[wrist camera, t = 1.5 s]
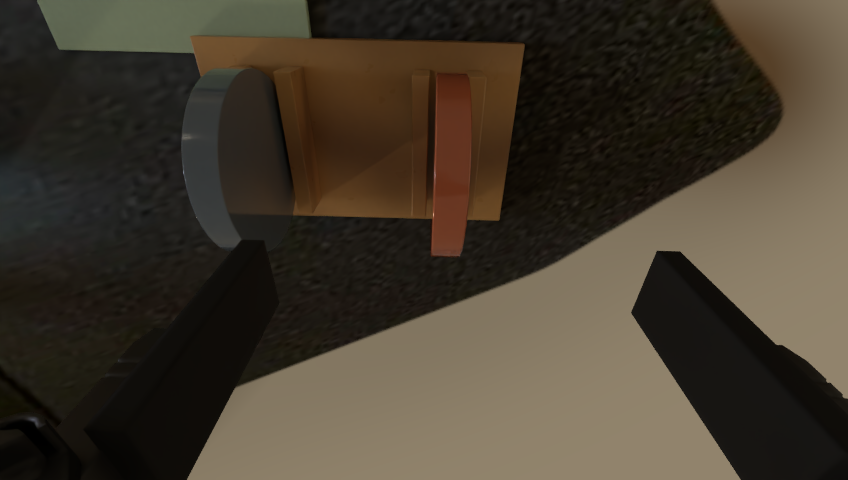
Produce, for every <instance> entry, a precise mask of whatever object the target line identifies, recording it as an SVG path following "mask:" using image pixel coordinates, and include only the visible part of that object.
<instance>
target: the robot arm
mask: <svg viewBox="0 0 848 480" xmlns="http://www.w3.org/2000/svg"><path fill="white" fill-rule="evenodd" d="M278 305H279V299H278V295H277V291H276V287H275V282H274V278H273V274H272V270H271V266H270V262H269V258H268V254H267V249H266V245H265V241H264V240H241V241H240V242H239V243H238V244H237V246H236V247H235V248H234V249H233V250H232V252H231V253H230V254H229V255H228V256H227V258H226V259H225V260H224V261H223V262H222V264H221V265H220V266H219V267H218V268H217V269H216V271H215V272H214V273H213V274H212V275H211V277H210V278H209V279H208V280H207V281H206V283H205V284H204V285H203V286H202V287H201V289H200V290H199V291H198V292H197V293H196V295H195V296H194V297H193V298H192V299H191V301H190V302H189V303H188V304H187V305H186V307H185V308H184V309H183V310H182V311H181V313H180V314H179V315H178V316H177V317H176V319H175V320H174V321H173V322H172V323H171V325H170V326H169V327H168V328H167V329H164V328H154V329H153V330H151V331H150V332H148V333H147V334H145V335H144V336H142V337H141V338H140V339H138V340H137V341H135V342H134V343H133V344H132V345H131V346H130V347H129V348H128V349H127V350H126V352H125V353H124V354H123V355H122V356H121V357H120V358H119V359H118V363H115V364H114V365H113V366H112V367H111V368H110V369H109V370H108V372H107V373H106V375H105V377H104V378H101V379H100V380H99V382H98V383H97V384H96V385H95V386H94V387H93V388H92V389H91V390H90V391H89V393H88V394H87V395H86V396H85V397H84V398H83V399H82V400H81V401H80V403H79V404H78V405H77V406H76V407H75V408H74V409H73V410H72V411H71V413H70V414H69V415H68V416H67V417H66V418H65V419H64V420H63V421H62V423H61V424H60V425H59V426H58V427H57V428H56V429H54V428H53V427H52V426H51V425H50V424H49V422H48V421H47V420H46V419H45V418H44V417H43V416H41V415H39V414H36V413H34V412H29V413H17V414H14V415H11V416H8V417H5V418H2V419H0V480H187V478H188V476H189V474H190V472H191V470H192V469H193V467H194V465H195V463H196V461H197V459H198V457H199V455H200V453H201V451H202V449H203V448H204V446H205V444H206V442H207V440H208V438H209V436H210V434H211V432H212V430H213V429H214V427H215V425H216V423H217V421H218V419H219V417H220V415H221V413H222V411H223V409H224V408H225V405H226V403H227V402H228V400H229V398H230V396H231V394H232V392H233V390H234V388H235V387H236V385H237V383H238V381H239V379H240V377H241V375H242V373H243V371H244V369H245V368H246V366H247V364H248V362H249V360H250V358H251V356H252V354H253V352H254V350H255V348H256V347H257V345H258V343H259V341H260V339H261V337H262V335H263V333H264V331H265V329H266V327H267V326H268V324H269V322H270V320H271V318H272V316H273V314H274V312H275V310H276V308H277V307H278ZM631 313H632V315H633V316H634V318H635V319H636V321H637V323H638V324H639V326H640V327H641V329H642V330H643V331H644V333H645V335H646V336H647V338H648V339H649V341H650V342H651V344H652V345H653V347H654V348H655V350H656V351H657V353H658V354H659V356H660V357H661V359H662V360H663V362H664V363H665V365H666V367H667V368H668V369H669V371H670V372H671V374H672V376H673V377H674V379H675V380H676V382H677V383H678V385H679V386H680V388H681V389H682V391H683V392H684V394H685V395H686V397H687V398H688V400H689V401H690V403H691V405H692V406H693V408H694V409H695V411H696V412H697V414H698V415H699V417H700V418H701V420H702V421H703V423H704V424H705V426H706V427H707V429H708V430H709V432H710V433H711V435H712V436H713V438H714V439H715V441H716V442H717V444H718V446H719V447H720V449H721V450H722V452H723V453H724V455H725V456H726V458H727V459H728V461H729V462H730V464H731V465H732V467H733V468H734V470H735V471H736V473H737V474H738V476H739V477H740V479H741V480H848V399H845V398H843V397H842V393H841V392H839V391H838V390H837V389H836V388H835V387H834V386H833V385H832V384H831V383H827V382H826V379H825V378H824V377H823V376H822V375H821V374H820V373H819V372H818V371H817V370H816V369H815V368H814V367H813V366H812V365H811V364H809V363H808V362H807V361H806V360H804V359H803V358H801V357H800V356H798V355H797V354H795V353H793V352H792V351H791V350H789V349H787V348H786V347H784V346H783V345H776V344H775V343H774V342H773V341H772V340H771V339H770V338H769V337H768V336H766V335H765V334H764V333H763V332H762V331H761V330H760V329H759V328H758V327H757V326H756V325H755V324H754V323H753V322H752V321H751V320H750V319H749V318H748V317H747V316H746V315H745V314H744V313H743V312H742V311H741V310H740V309H739V308H738V307H737V306H736V305H735V304H734V303H733V302H731V301H730V300H729V299H728V298H727V297H726V296H725V295H724V294H723V293H722V292H721V291H720V290H719V289H718V288H717V287H716V286H715V285H714V284H713V283H712V282H711V281H710V280H709V279H708V278H707V277H706V276H705V275H704V274H703V273H702V272H701V271H700V270H698V269H697V268H696V267H695V266H694V265H693V264H692V263H691V262H690V261H689V260H688V259H687V258H686V257H685V256H684V255H683V254H682V253H681V252H675V251H657V252H656V255H655V257H654V259H653V262H652V264H651V266H650V269H649V271H648V274H647V276H646V278H645V281H644V283H643V286H642V288H641V291H640V293H639V295H638V298H637V300H636V302H635V305H634V307H633V309H632V312H631Z"/></svg>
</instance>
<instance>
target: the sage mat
mask: <svg viewBox="0 0 848 480" xmlns="http://www.w3.org/2000/svg"><path fill="white" fill-rule="evenodd" d="M37 2H38V4H39V6H40V8H41V10H42V13H43V15H44V17H45V19H46V22H47V24H48V26H49V28H50V30H51V33H52V35H53V37H54V39H55V42H56V44H57V46H58V48H59V49H60V50H93V51H134V52H175V53H194V50H193V46H192V43H191V39H190V36H194V35H214V36H256V37H298V38H311V37H312V36H311V27H310V19H309V11H308V3H307V0H37Z"/></svg>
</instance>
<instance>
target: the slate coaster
mask: <svg viewBox="0 0 848 480" xmlns="http://www.w3.org/2000/svg"><path fill="white" fill-rule="evenodd" d="M181 148H182V164H183V172H184V179H185V183H186V188H187V192H188V195H189V199H190V202H191V205H192V207H193V210H194V212H195V215H196V217H197V219H198V221H199V223H200V225H201V226H202V228H203V229H204V231H205V232H206V234H207V235H208V236H209V237H210V238H211V240H212V241H213V242H214V243H216V244H217V245H218V246H219V247H221V248H223V249H225V250H227V251H231V252H232V250H233V249H234V248H235V247H236V246H237V244H238V243H239V242H240V241H241V240H264V241H265V245H266V249H267V252H269V251H272V250H273V249H275V248H276V247H277V246H278V245H279V244H280V243H281V241H282V240H283V238H284V236H285V235H286V233H287V230H288V228H289V225H290V222H291V219H292V215H293V212H294V206H295V200H296V196H295V190H294V185H293V179H292V174H291V168H290V163H289V157H288V152H287V146H286V141H285V135H284V130H283V124H282V119H281V113H280V107H279V102H278V96H277V91H276V85H275V84H274V82H273V81H272V80H271V79H270V78H269V77H268V75H266V74H265V73H264V72H262V71H260V70H258V69H255V68H238V67H219V68H214V69H212V70H210V71H208V72H206V73H205V74H204V75H203V76H202V77H201V78H200V79H199V80H198V82H197V83H196V85H195V86H194V88H193V90H192V92H191V94H190V97H189V100H188V102H187V106H186V110H185V114H184V120H183V127H182V143H181Z"/></svg>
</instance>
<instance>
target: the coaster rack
mask: <svg viewBox="0 0 848 480" xmlns="http://www.w3.org/2000/svg"><path fill="white" fill-rule="evenodd" d="M190 39H191V43H192V46H193V50H194V54H195V57H196V61H197V64H198V68H199V72H200V75H201V77H202V76H203V75H204V74H205V73H206V72H208V71H210V70H212V69H214V68H219V67H238V68H255V69H258V70H260V71H262V72H264V73H265V74H266V75H268V77H269V78H270V79H271V80H272V81H273V82H274V84H275V85H276V91H277V96H278V102H279V107H280V113H281V119H282V124H283V130H284V135H285V141H286V146H287V152H288V157H289V163H290V168H291V174H292V179H293V185H294V190H295V196H296V200H295V206H294V212H293V215H309V216H348V217H386V218H424V219H431V178H432V144H433V115H434V91H435V75H436V72H437V71H445V72H466V73H468V76H469V79H470V86H471V99H472V155H471V178H470V193H469V205H468V216H467V220H499V218H500V211H501V204H502V198H503V191H504V184H505V177H506V170H507V163H508V156H509V150H510V143H511V136H512V129H513V122H514V115H515V108H516V102H517V95H518V88H519V81H520V74H521V67H522V61H523V54H524V47H525V44H523V43H521V42H483V41H441V40H399V39H357V38H316V37H311V38H298V37H256V36H214V35H194V36H190Z"/></svg>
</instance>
